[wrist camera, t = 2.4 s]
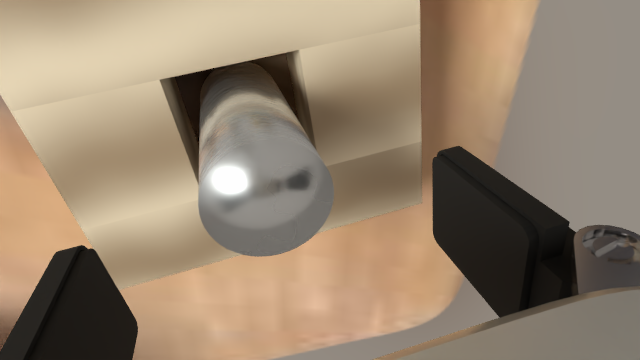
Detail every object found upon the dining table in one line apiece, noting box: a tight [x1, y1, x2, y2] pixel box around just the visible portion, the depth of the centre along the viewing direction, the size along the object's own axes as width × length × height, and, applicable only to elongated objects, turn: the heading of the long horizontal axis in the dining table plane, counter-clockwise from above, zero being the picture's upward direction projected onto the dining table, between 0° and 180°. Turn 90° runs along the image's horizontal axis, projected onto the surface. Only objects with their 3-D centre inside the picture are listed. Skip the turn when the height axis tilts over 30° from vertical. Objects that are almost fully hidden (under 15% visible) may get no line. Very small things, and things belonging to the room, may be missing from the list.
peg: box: [198, 61, 334, 256], centre depth 16 cm, size 4×4×10 cm
